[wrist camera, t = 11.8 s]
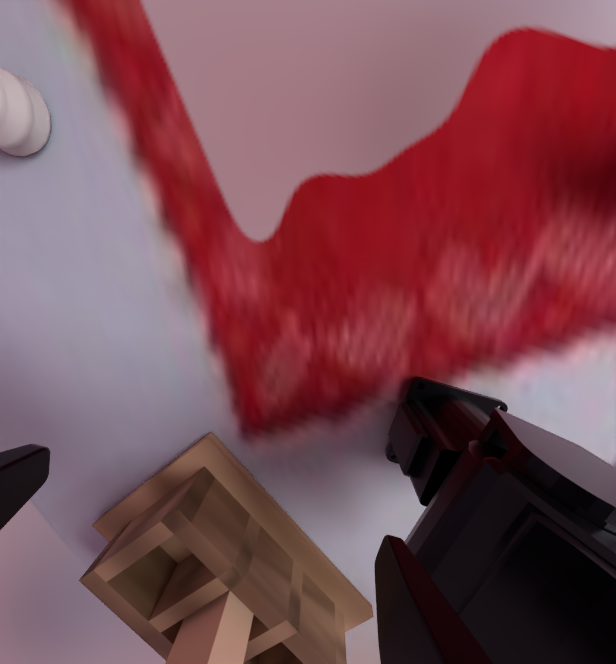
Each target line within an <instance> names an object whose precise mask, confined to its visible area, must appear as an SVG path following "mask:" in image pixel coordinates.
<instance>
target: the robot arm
mask: <svg viewBox="0 0 616 664" xmlns="http://www.w3.org/2000/svg"><path fill="white" fill-rule="evenodd" d="M418 383H423V385H422V387H417V385H418ZM497 406H500V408H499V409H498V408H496V407H497ZM507 409H508V408H507V405H506V404H505V403H504V402H502V401H501V400H498V399H495V398H491V397H488V396H484V395H481V394H478V393H474V392H471V391H467V390H464V389H460V388H457V387H453V386H450V385H447V384H443V383H440V382H436V381H433V380H429V379H426V378H422V377H417V378H415V379H413V381H412V383H411V386H410V388H409V391H408V394H407V396H406V399H405V401H404V402H403V403H401V404H400V405H399V407H398V410H397V413H396V415H395V418H394V421H393V423H392V426H391V428H390V431H389V434H388V435H389V438H390V440H389V443H388V446H387V448H386V451H385V453H386V457H387V459H388V460H389V461H391V462H394V463H398V464H399V465H400V467H401V470H402V472H403V474H404V475H405V476H408V477H410V479H411V481H412V484H413V486H414V489H415V491H416V494H417V496H418V499H419V501H420V503H421V504H422V505H423V506H427V508H426V509H425V511H424V512H423V514H422V515H421V517H420V518H419V520H418V522H417V523H416V525H415V526H414V528H413V529H412V531H411V532H410V534H409V535H408V537H407V539H406V540H405V542H404V541H403V540H402V539H401V538H398V537H395V536H391V535H386V536H385V537H384V539H383V541H382V544H381V546H380V549H379V551H378V554H377V557H376V560H375V586H376V605H377V624H378V640H379V651H380V660H381V664H616V468H615V467H613V466H611V465H610V464H608V463H607V462H605V461H603V460H602V459H600V458H599V457H597V456H595V455H594V454H592V453H591V452H589V451H587V450H586V449H584V448H583V447H581V446H579V445H577V444H575V443H573V442H570V441H568V440H566V439H564V438H562V437H559V436H557V435H555V434H553V433H551V432H548V431H546V430H544V429H542V428H540V427H537V426H535V425H533V424H531V423H528V422H526V421H524V420H522V419H520V418H517V417H515V416H513V415H511V414H509V413H506V412H507ZM393 452H394V453H395V455H390V454H391V453H393ZM49 463H50V450H49V448H47V447H44V446H40V445H36V444H29V445H25V446H21V447H18V448H14V449H11V450H7V451H4V452H0V530H1V529H2V528H3V527H4V526H5V525H6V524H7V522H8V521H9V520H10V519H11V518H12V517H13V516H14V515H15V514H16V513H17V512H18V511H19V509H21V507H23V505H24V504H25V503H26V502H27V501H28V500H29V499H30V498H31V497H32V496H33V495H34V494H35V493H36V492H37V490H38V489H39V488H40V487H41V486H42V485H43V484H44V483H45V481H46V479H47V477H48V475H49Z"/></svg>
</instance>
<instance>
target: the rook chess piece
mask: <svg viewBox="0 0 616 664" xmlns="http://www.w3.org/2000/svg"><path fill="white" fill-rule="evenodd" d="M50 133H51V116H50V114H49V111H48V109H47V107H46V104H45V102H44V100H43V98H42V96H41V94H40V93H39V92H38V91H37V90H36V89H35V87H34V86H33V85H32V84H31V83H30V82H28V81H26V80H24V79H23V78H21V77H19V76H16V75H15V74H13V73H11V72H10V71H8V70H6V69H4V68H2V67H0V149H1V150H3V151H5V152H7V153H9V154H11V155H16V156H27V155H29V154H32V153H34V152H37V151H39V150H41V149H42V148H43V147H44V146H45V144H46V143H47V142H48V140H49V137H50Z"/></svg>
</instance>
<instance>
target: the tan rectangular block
mask: <svg viewBox="0 0 616 664" xmlns="http://www.w3.org/2000/svg"><path fill="white" fill-rule="evenodd" d="M253 615H254V614H253V613H252V612H251V611H250V610H249V609H248V608H247V607H246V606H245V605H244V604H243V603H242V602H241V601H240V600H239V599H238V598H237V597H236V596H235V595H234V594H233V593H232V592H231V591H230V590H228V591H227V592H225V593H224V594H222V595H220V596H219V597H217V598H216V599H214V600H212V601H211V602H209V603H208V604H206V605H204V606H203V607H201V608H200V609H198V610H196V611H195V612H193V613H191V614H190V615H188V616H187V617H185V618H184V620H183V622H182V625H181V627H180V630H179V632H178V634H177V637H176V639H175V642H174V644H173V647H172V649H171V651H170V654H169V656H168V659H167V661H166V664H243V662H244V658H245V653H246V648H247V643H248V639H249V634H250V629H251V625H252V620H253Z"/></svg>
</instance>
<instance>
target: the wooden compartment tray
mask: <svg viewBox="0 0 616 664" xmlns="http://www.w3.org/2000/svg"><path fill="white" fill-rule="evenodd" d="M92 526H93V527H94V528H95V529H96V530H97V531H98V532H99V533H100V534H101V535H102V536H103V537H104V538H106V539H107V540H108V541H109V544H108V545H107V546H106V547H105V549H104V550H103V551H102V552H101V554H100V555H99V556H98V557H97V559H96V560H95V561H94V562H93V564H92V565H91V566H90V567H89V569H88V570H87V571H86V572H85V574H84V575H83V576H82V577H81V579H80V580H79V581H80V582H81V583H82V584H83V585H84V586H85V587H86V588H88V589H89V590H90V591H91V592H92V593H93V594H94V595H95V596H96V597H97V598H98V599H99V600H101V601H102V602H103V603H104V604H105V605H106V606H107V607H108V608H109V609H110V610H111V611H113V612H114V613H115V614H116V615H117V616H118V617H119V618H120V619H121V620H122V621H123V622H125V623H126V624H127V625H128V626H129V627H130V628H131V629H132V630H133V631H134V632H135V633H136V634H138V635H139V636H140V637H141V638H142V639H143V640H144V641H145V642H146V643H147V644H148V645H150V646H151V647H152V648H153V649H154V650H155V651H156V652H157V653H158V654H159V655H160V656H162V657H163V658H164V659H165V660H166V661H167V659H168V656H169V654H170V651H171V649H172V647H173V644H174V642H175V639H176V637H177V634H178V632H179V630H180V627H181V625H182V622H183V620H184V618H185V617H187V616H188V615H190V614H191V613H193V612H195V611H196V610H198V609H200V608H201V607H203V606H204V605H206V604H208V603H209V602H211V601H212V600H214V599H216V598H217V597H219V596H220V595H222V594H224V593H225V592H227V591H228V590H230V591H231V592H232V593H233V594H234V595H235V596H236V597H237V598H238V599H239V600H240V601H241V602H242V603H243V604H244V605H245V606H246V607H247V608H248V609H249V610H250V611H251V612H252V613H253V614H254V615H253V620H252V625H251V629H250V634H249V639H248V643H247V648H246V653H245V658H244V662H243V664H346V645H345V632H346V631H348V630H350V629H352V628H354V627H355V626H357V625H359V624H361V623H363V622H365V621H367V620H368V619H370V618H372V617H373V610H372V605H371V604H370V603H369V602H368V601H367V600H366V599H365V598H364V597H363V596H362V595H361V593H360V592H359V591H358V590H357V589H356V588H355V587H354V586H353V585H352V584H351V583H350V582H349V580H348V579H347V578H346V577H345V576H344V575H343V574H342V573H341V572H340V571H339V570H338V569H337V567H336V566H335V565H334V564H333V563H332V562H331V561H330V560H329V559H328V558H327V557H326V556H325V554H324V553H323V552H322V551H321V550H320V549H319V548H318V547H317V546H316V545H315V544H314V543H313V541H312V540H311V539H310V538H309V537H308V536H307V535H306V534H305V533H304V532H303V531H302V530H301V528H300V527H299V526H298V525H297V524H296V523H295V522H294V521H293V520H292V519H291V518H290V517H289V515H288V514H287V513H286V512H285V511H284V510H283V509H282V508H281V507H280V506H279V505H278V504H277V503H276V501H275V500H274V499H273V498H272V497H271V496H270V495H269V494H268V493H267V492H266V491H265V490H264V488H263V487H262V486H261V485H260V484H259V483H258V482H257V481H256V480H255V479H254V478H253V477H252V475H251V474H250V473H249V472H248V471H247V470H246V469H245V468H244V467H243V466H242V465H241V464H240V462H239V461H238V460H237V459H236V458H235V457H234V456H233V455H232V454H231V453H230V452H229V451H228V449H227V448H226V447H225V446H224V445H223V444H222V443H221V442H220V441H219V440H218V439H217V438H216V436H215V435H214V434H213V433H212V432H210V433H209V434H208V435H206V436H205V437H204V438H203V439H201V440H200V441H199V442H197V443H196V444H195V445H193V446H192V447H191V448H190V449H188V450H187V451H186V452H184V453H183V454H182V455H180V456H179V457H178V458H177V459H175V460H174V461H173V462H171V463H170V464H169V465H167V466H166V467H165V468H164V469H162V470H161V471H160V472H158V473H157V474H156V475H154V476H153V477H152V478H151V479H149V480H148V481H147V482H145V483H144V484H143V485H141V486H140V487H139V488H137V489H136V490H135V491H134V492H132V493H131V494H130V495H128V496H127V497H126V498H124V499H123V500H122V501H121V502H119V503H118V504H117V505H115V506H114V507H113V508H111V509H110V510H109V511H108V512H106V513H105V514H104V515H102V516H101V517H100V518H99V519H98V520H97V521H96V522H95V523H94V524H93V525H92Z"/></svg>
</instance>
